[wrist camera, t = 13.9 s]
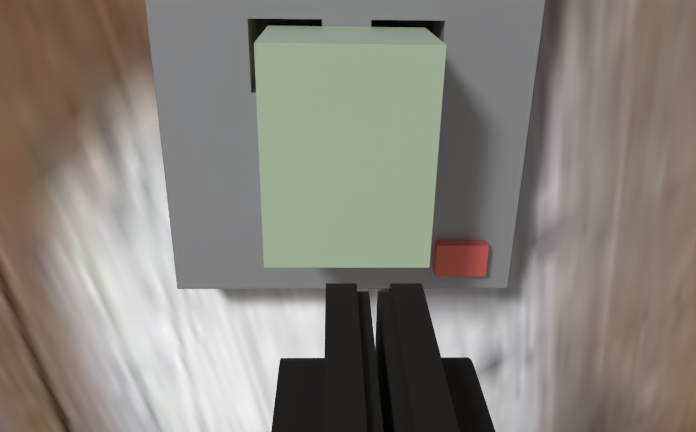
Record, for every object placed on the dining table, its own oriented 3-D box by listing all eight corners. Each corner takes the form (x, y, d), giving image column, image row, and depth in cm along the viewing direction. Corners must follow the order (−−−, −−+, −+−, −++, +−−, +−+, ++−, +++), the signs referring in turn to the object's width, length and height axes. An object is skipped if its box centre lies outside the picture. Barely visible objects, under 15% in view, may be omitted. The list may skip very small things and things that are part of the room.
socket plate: (156, -77, 26) (131, -81, 23) (531, -71, 26) (560, -74, 23) (190, 259, 32) (174, 295, 29) (492, 259, 33) (510, 294, 30)
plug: (271, 18, 27) (250, 42, 20) (418, 20, 28) (449, 45, 21) (277, 193, 31) (261, 267, 24) (408, 194, 31) (432, 267, 24)
